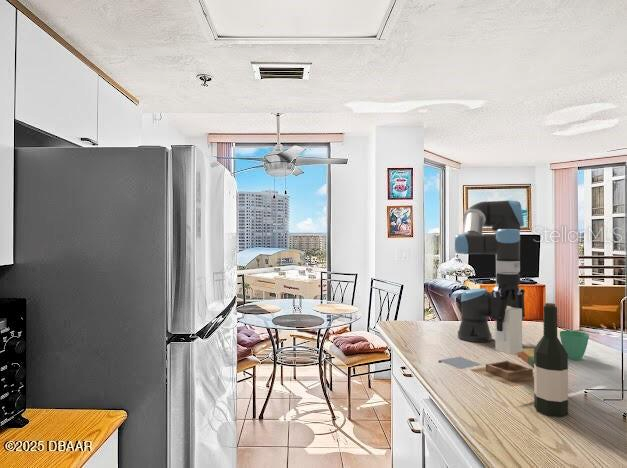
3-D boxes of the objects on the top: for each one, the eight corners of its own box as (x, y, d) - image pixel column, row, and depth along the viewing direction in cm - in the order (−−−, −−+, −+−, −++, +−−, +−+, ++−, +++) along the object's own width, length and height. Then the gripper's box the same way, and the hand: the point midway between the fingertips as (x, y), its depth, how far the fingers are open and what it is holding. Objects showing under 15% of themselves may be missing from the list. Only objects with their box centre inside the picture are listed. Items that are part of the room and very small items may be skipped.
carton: (539, 359, 164) (539, 348, 164) (558, 372, 148) (558, 360, 148) (517, 358, 165) (517, 347, 165) (534, 371, 149) (534, 360, 149)
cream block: (495, 349, 145) (495, 307, 145) (507, 347, 148) (507, 305, 148) (509, 354, 140) (509, 310, 140) (522, 351, 142) (521, 308, 142)
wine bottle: (527, 405, 119) (527, 301, 119) (555, 404, 120) (554, 301, 120) (546, 417, 111) (545, 306, 111) (575, 416, 111) (574, 305, 112)
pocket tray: (469, 371, 148) (469, 362, 148) (505, 365, 155) (505, 356, 155) (512, 388, 132) (512, 378, 132) (550, 380, 139) (550, 370, 139)
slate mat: (438, 362, 159) (438, 360, 159) (460, 358, 164) (460, 356, 164) (459, 370, 149) (459, 368, 149) (481, 366, 154) (481, 364, 154)
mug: (591, 363, 156) (591, 337, 157) (561, 360, 161) (561, 334, 161) (584, 353, 170) (584, 329, 170) (556, 350, 174) (556, 327, 174)
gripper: (497, 275, 136) (497, 345, 136) (536, 272, 144) (537, 338, 144) (479, 273, 143) (479, 339, 143) (518, 270, 151) (518, 333, 151)
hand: (508, 338), depth 144 cm, fingers closed on cream block, 6 cm apart
